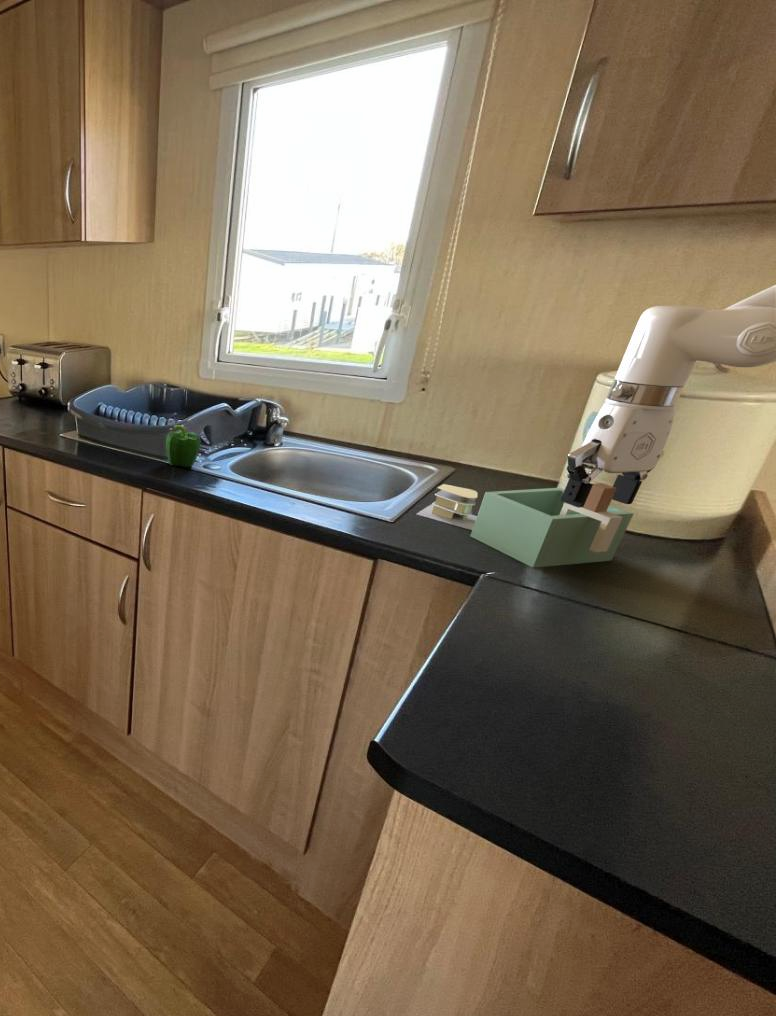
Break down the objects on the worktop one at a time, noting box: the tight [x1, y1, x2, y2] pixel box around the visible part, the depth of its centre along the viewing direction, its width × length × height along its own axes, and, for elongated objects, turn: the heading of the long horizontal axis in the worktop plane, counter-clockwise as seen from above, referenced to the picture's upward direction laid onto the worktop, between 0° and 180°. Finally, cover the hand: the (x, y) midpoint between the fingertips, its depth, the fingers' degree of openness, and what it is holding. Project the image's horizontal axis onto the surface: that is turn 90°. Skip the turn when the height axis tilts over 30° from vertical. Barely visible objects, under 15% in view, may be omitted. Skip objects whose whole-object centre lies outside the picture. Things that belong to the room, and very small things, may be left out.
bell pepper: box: [165, 425, 201, 468], centre depth 136 cm, size 8×8×10 cm
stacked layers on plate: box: [416, 483, 479, 531], centre depth 109 cm, size 10×9×6 cm
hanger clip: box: [560, 482, 623, 552], centre depth 89 cm, size 2×7×10 cm, turn 11°
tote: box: [470, 487, 634, 569], centre depth 96 cm, size 16×12×9 cm
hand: (595, 502), depth 88 cm, fingers open, 9 cm apart
